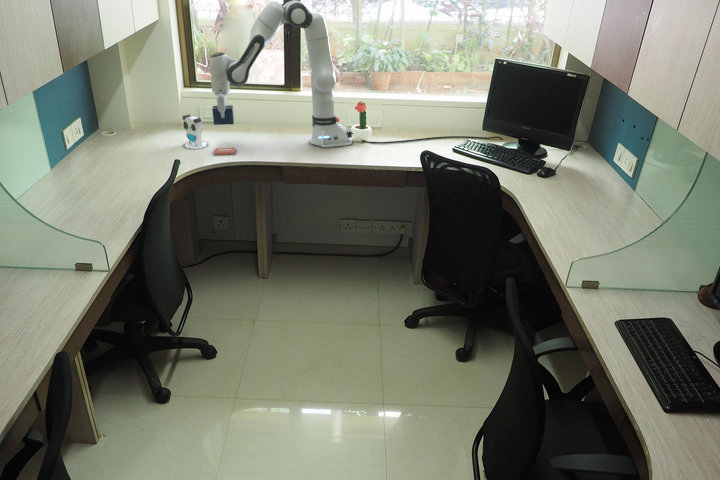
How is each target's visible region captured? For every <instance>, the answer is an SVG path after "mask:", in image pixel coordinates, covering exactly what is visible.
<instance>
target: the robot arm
mask: <svg viewBox="0 0 720 480" xmlns="http://www.w3.org/2000/svg"><path fill="white" fill-rule="evenodd" d="M286 23H288V24H289V25H291V26H292V27H294V28H296V29H297V28H299V29H303V31H304V36H305V42H306V49H307V55H308V60H309V63H310V68H311V69H310V85H311V99H312V115H311V126H312V129H311V137H310V141H309V143H310V144H312V145H315V146H318V147H322V148H334V147H343V146H344V147H345V146H351V145H352V144H353V139H352V137H353V133H354V132H352V129H346V127H345V126H343V125H342V124H341V123H339V122H340V118H339V117H338V116H337V115H336V114H335V99H334V88H335V86H336V74H335V67H334V64H333V59H332V58H333V57H332V53H331V47H330V46H331V45H330V39H329V32H328V27H327V23H326V20H325V17H324V15H323V14H321V13H320V12H310V10H309V9H308V7H307V5H305V3H304V2H303V1H301V0H288V1H286V2H284V3H282V4H281V3H280V2H277V1H270V2H268V3H267V5H266V6H265V7H264V8H263V9H262V10H261V11H260V13H259V14H258V16H257V17H256V19H255V20H254V22H253V25H252V27H251V29H250V36H249V41H248V45H247V47H246V48H245V50H244V51H243V53H242V55H241V56H240V58H239V59H237V58H235V57H231V56H229V55H228V54H227V53H225V52H217V53H213V54H212V55H211V56H210V58H209V74H210V76H211V80H210V85H211V92H212V93H213V94H214V96H216V106H218V111H220V113H221V118H225V114H224V111H225V109H226V105H227V101H228V100H227V99H228V95H229V93H230V91H231V88H230V84H231V85H232V86H234V87H242V86H244V85H245V84H247V82H248V79H249V74H250V70H251V68H252V67H253V65H254V63H255V61H256V60H257V58H258V57H259V55H260V54H261V52H262V51H263V50H264V49H265V47H266V46H267V45H268V44H269V43H270V42H271V41H272V40H273V38H274V37H275V36H276V34H277V32H279V29H280V28H281V27H282V26H283V25H284V24H286ZM453 138H457V139H458V138H459V139H462V138H463V139H464V138H465V139H481V140H491V139H499V140H501V141H504V138H503V137H501V136H498V135H497V136H496V135H495V136H488V137H485V136H470V135H469V136H468V135H467V136H466V135H449V136H432V137H423V138H415V139H414V138H413V139H406V140H404V139H403V140H394V141H391V140H390V141H367V140H364V139H363V140H361V142H363V143H368V144H397V143H407V142H415V141H425V140H434V139H453Z"/></svg>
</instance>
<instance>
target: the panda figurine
mask: <svg viewBox="0 0 720 480" xmlns="http://www.w3.org/2000/svg"><path fill="white" fill-rule="evenodd" d="M182 121H183V129H184V130H185V133H186V137H187V139H188V142H187V143H185V144H184V147H185V148H186V149H188V150H189V149H190V150H198V149H203V148H206V147H207V144H208V143H207V142H205V141H203V139H202V133H203V125H202V119H201V117H196V116H193V115H192V116H191V115H190V114H184V115H182Z"/></svg>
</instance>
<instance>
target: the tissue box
mask: <svg viewBox="0 0 720 480" xmlns="http://www.w3.org/2000/svg"><path fill="white" fill-rule="evenodd" d="M211 110H212V119H213V125H215V126H217V125H218V126H222V125H223V126H224V125H234V124H235V117H234V106H233V105H232V104H228V105H227V104H226V109H225V111H224V114H225V118H221V113H220V111H218V106H217V105H212V109H211Z"/></svg>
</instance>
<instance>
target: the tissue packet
mask: <svg viewBox="0 0 720 480" xmlns="http://www.w3.org/2000/svg"><path fill="white" fill-rule="evenodd" d="M235 154H236V147H215V148H214V156H226V155H229V156H230V155H235Z"/></svg>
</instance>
